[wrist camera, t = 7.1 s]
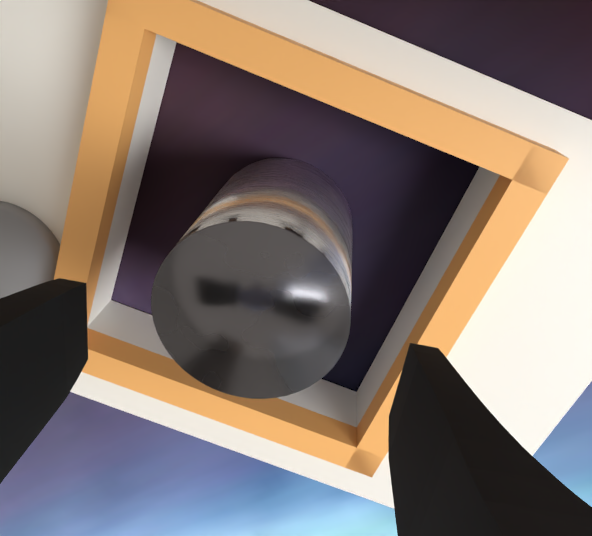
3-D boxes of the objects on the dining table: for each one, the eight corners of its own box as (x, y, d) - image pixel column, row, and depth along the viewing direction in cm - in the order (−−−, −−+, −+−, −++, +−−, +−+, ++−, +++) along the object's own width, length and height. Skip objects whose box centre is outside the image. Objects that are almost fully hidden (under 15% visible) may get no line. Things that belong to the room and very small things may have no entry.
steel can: (365, 171, 17) (369, 243, 12) (338, 301, 19) (331, 414, 14) (218, 146, 17) (154, 204, 12) (207, 277, 19) (147, 379, 14)
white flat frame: (701, 166, 16) (772, 196, 13) (460, 494, 22) (474, 559, 20) (-9, -134, 15) (-91, -169, 12) (-51, 307, 21) (-111, 349, 18)
